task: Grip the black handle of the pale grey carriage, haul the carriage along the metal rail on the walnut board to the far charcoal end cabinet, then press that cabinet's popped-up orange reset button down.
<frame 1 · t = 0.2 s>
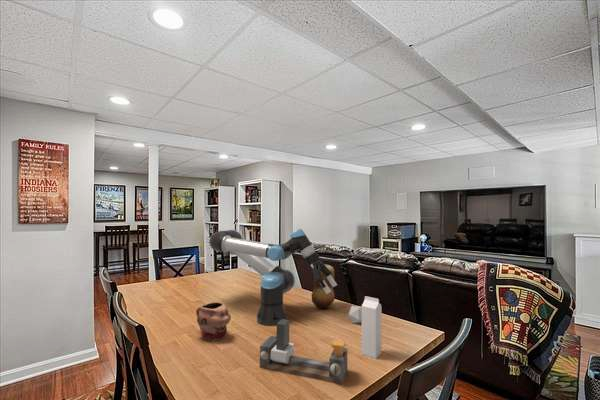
hand: (332, 289, 151), 15 cm above the table, tool tilted 35°, fingers open, 13 cm apart
decorative planter: (211, 336, 127), on the table
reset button: (338, 348, 98), point 9 cm above the table, slide at 2.5 cm
carriage: (282, 340, 105), point 9 cm above the table, slide at 10.0 cm
butternut squash: (323, 307, 168), on the table
rail base: (303, 368, 102), on the table
die: (356, 322, 146), on the table
milk: (371, 354, 113), on the table
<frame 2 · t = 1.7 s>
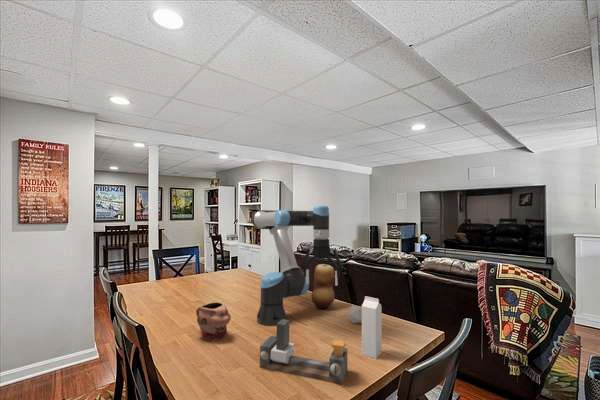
hand: (321, 284, 133), 22 cm above the table, tool pointing down, fingers open, 13 cm apart
nothing on the table moved.
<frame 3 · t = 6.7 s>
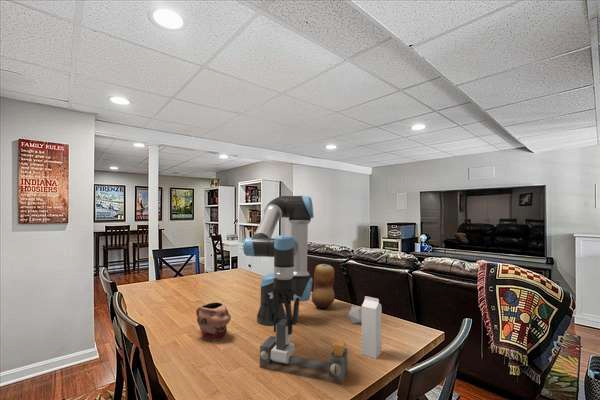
hand: (282, 342, 105), 8 cm above the table, tool pointing down, fingers closed on carriage, 3 cm apart
carriage: (282, 340, 105), point 9 cm above the table, slide at 10.0 cm, touching gripper
everything else where it was.
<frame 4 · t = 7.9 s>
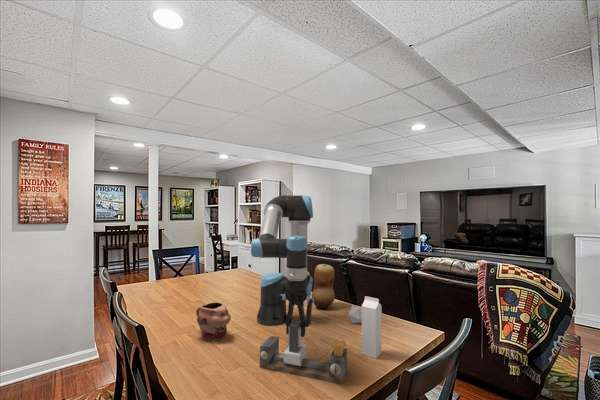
hand: (295, 344, 103), 8 cm above the table, tool pointing down, fingers closed on carriage, 3 cm apart
carriage: (295, 342, 103), point 9 cm above the table, slide at 5.0 cm, touching gripper
everything else where it was.
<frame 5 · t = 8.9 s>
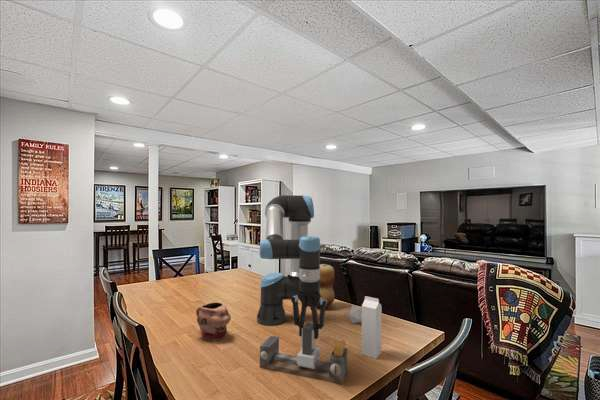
hand: (308, 346, 101), 8 cm above the table, tool pointing down, fingers closed on carriage, 3 cm apart
carriage: (308, 344, 101), point 9 cm above the table, slide at 0.1 cm, touching gripper
everything else where it was.
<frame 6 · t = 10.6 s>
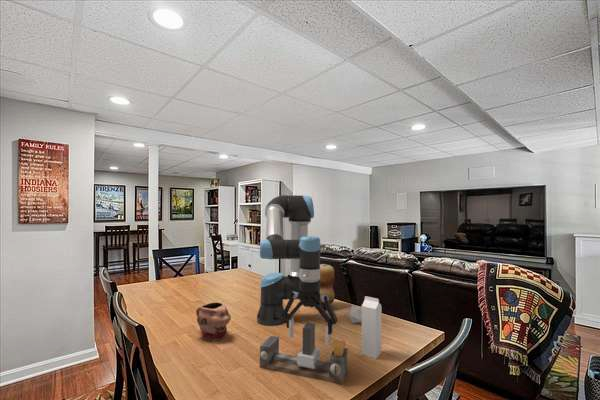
hand: (308, 340, 101), 10 cm above the table, tool pointing down, fingers open, 13 cm apart
carriage: (308, 344, 101), point 9 cm above the table, slide at 0.0 cm
everything else where it was.
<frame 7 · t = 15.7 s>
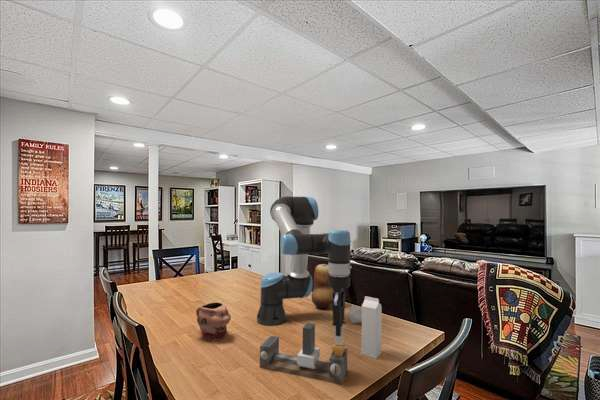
hand: (338, 344, 98), 11 cm above the table, tool pointing down, fingers closed
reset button: (338, 350, 98), point 8 cm above the table, slide at 1.8 cm, touching gripper
everything else where it was.
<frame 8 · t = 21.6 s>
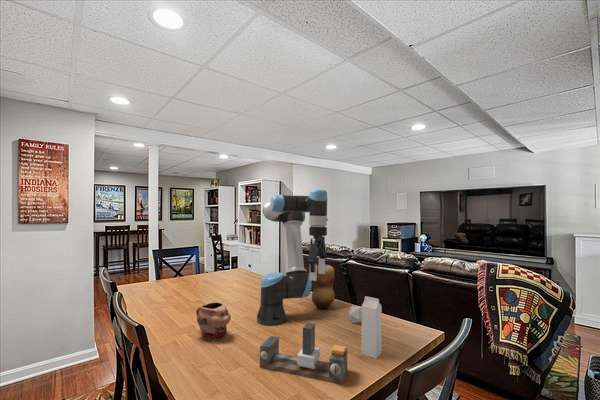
hand: (317, 276, 120), 29 cm above the table, tool pointing down, fingers open, 13 cm apart
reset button: (338, 354, 98), point 7 cm above the table, slide at 0.7 cm
everything else where it was.
at the end: carriage slide at 0.0 cm; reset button slide at 0.7 cm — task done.
